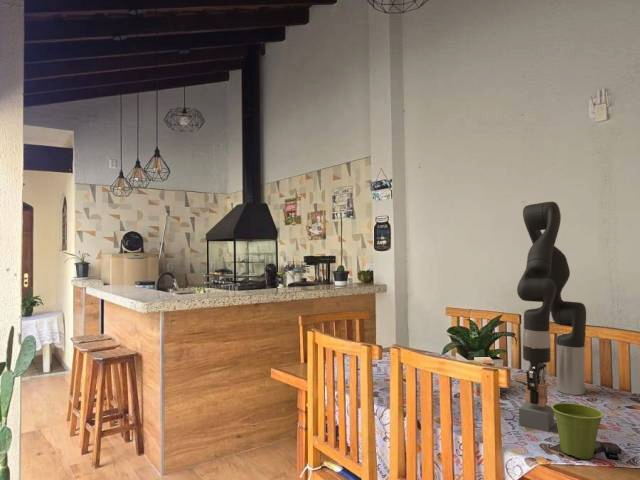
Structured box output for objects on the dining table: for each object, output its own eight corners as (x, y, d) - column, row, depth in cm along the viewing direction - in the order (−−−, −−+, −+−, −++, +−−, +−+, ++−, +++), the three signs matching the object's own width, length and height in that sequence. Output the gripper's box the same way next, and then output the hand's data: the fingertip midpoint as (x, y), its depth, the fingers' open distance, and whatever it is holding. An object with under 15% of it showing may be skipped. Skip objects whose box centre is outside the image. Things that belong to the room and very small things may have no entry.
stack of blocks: (467, 379, 187) (467, 349, 188) (483, 380, 186) (483, 349, 186) (476, 396, 166) (476, 361, 166) (494, 397, 165) (494, 362, 165)
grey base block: (525, 417, 145) (525, 401, 145) (554, 423, 140) (554, 406, 140) (519, 425, 138) (519, 408, 139) (548, 431, 134) (548, 414, 134)
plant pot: (615, 460, 116) (614, 414, 116) (579, 467, 112) (579, 420, 112) (574, 441, 127) (574, 400, 127) (540, 447, 123) (540, 404, 123)
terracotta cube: (529, 398, 143) (529, 382, 143) (547, 402, 140) (547, 385, 140) (525, 403, 139) (525, 386, 139) (543, 406, 136) (543, 389, 136)
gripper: (529, 339, 148) (529, 393, 147) (516, 346, 136) (516, 404, 136) (555, 342, 143) (555, 398, 143) (544, 350, 132) (544, 410, 131)
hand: (536, 401), depth 139 cm, fingers closed on terracotta cube, 5 cm apart
